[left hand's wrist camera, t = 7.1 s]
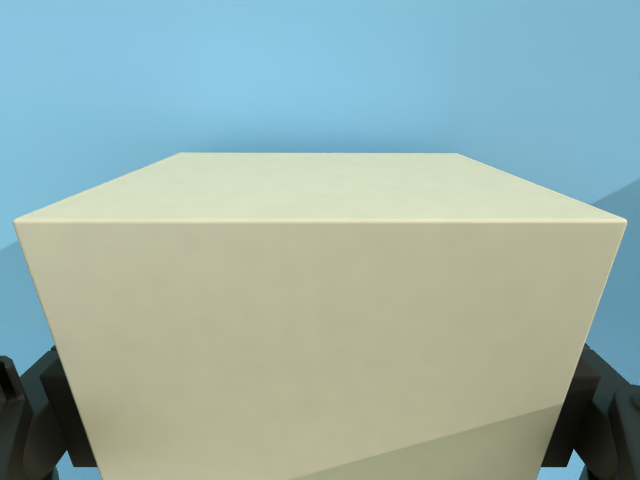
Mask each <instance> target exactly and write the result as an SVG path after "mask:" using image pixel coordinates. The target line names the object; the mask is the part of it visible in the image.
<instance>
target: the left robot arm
mask: <svg viewBox="0 0 640 480" xmlns="http://www.w3.org/2000/svg"><path fill="white" fill-rule="evenodd" d="M573 449H574V450H575V451H576V452H577V454H578V455H579V456H580V458H581V459H582V461H583V462H584V463H585V466H584V468H583V471H582V473H581V475H580V478H579V480H640V386H637V385H631V384H629V383H628V382H627V381H626V380H625V379H624V378H623V377H622V376H621V375H620V374H619V373H617V372H616V371H615V370H614V369H613V368H612V367H611V366H610V365H609V364H608V363H606V362H605V361H604V360H603V359H602V358H601V357H600V356H599V355H598V354H597V353H596V352H594V351H593V350H590V347H589V346H588V345H587V344H586V343H585V344H584V347H583V349H582V352H581V355H580V358H579V361H578V363H577V366H576V369H575V372H574V375H573V377H572V380H571V383H570V386H569V389H568V391H567V394H566V397H565V400H564V403H563V406H562V408H561V411H560V414H559V417H558V420H557V422H556V425H555V428H554V431H553V434H552V436H551V439H550V442H549V445H548V448H547V450H546V453H545V456H544V459H543V462H542V464H541V467H567V465H568V462H569V459H570V457H571V454H572V452H573ZM66 450H67V451H68V453H69V456H70V459H71V461H72V464H73V466H74V467H98V466H97V463H96V461H95V458H94V455H93V452H92V449H91V446H90V443H89V441H88V438H87V435H86V432H85V429H84V426H83V423H82V421H81V418H80V415H79V412H78V409H77V406H76V403H75V400H74V398H73V395H72V392H71V389H70V386H69V383H68V380H67V378H66V375H65V372H64V369H63V366H62V363H61V360H60V358H59V355H58V352H57V349H56V346H55V345H54V346H53V347H52V348H51V351H48V352H47V353H45V354H44V355H43V356H42V357H41V358H40V359H39V360H38V361H37V362H36V363H35V364H33V365H32V366H31V367H30V368H29V369H28V370H27V371H26V372H25V373H24V374H23V375H22V376H20V377H19V375H18V373H17V370H16V368H15V365H14V363H13V361H12V359H10V358H8V357H7V356H0V480H59V475H58V471H57V468H56V464H57V463H58V461H59V460H60V459H61V457H62V456H63V455H64V453H65V452H66Z"/></svg>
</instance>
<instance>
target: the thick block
mask: <svg viewBox="0 0 640 480" xmlns="http://www.w3.org/2000/svg"><path fill="white" fill-rule="evenodd" d="M13 226H14V229H15V232H16V234H17V237H18V240H19V243H20V246H21V249H22V252H23V254H24V257H25V260H26V263H27V266H28V269H29V272H30V274H31V277H32V280H33V283H34V286H35V289H36V292H37V295H38V297H39V300H40V303H41V306H42V309H43V312H44V315H45V317H46V320H47V323H48V326H49V329H50V332H51V335H52V337H53V340H54V343H55V346H56V349H57V352H58V355H59V358H60V360H61V363H62V366H63V369H64V372H65V375H66V378H67V380H68V383H69V386H70V389H71V392H72V395H73V398H74V400H75V403H76V406H77V409H78V412H79V415H80V418H81V421H82V423H83V426H84V429H85V432H86V435H87V438H88V441H89V443H90V446H91V449H92V452H93V455H94V458H95V461H96V463H97V466H98V469H99V472H100V475H101V478H102V480H536V479H537V476H538V473H539V470H540V467H541V464H542V462H543V459H544V456H545V453H546V450H547V448H548V445H549V442H550V439H551V436H552V434H553V431H554V428H555V425H556V422H557V420H558V417H559V414H560V411H561V408H562V406H563V403H564V400H565V397H566V394H567V391H568V389H569V386H570V383H571V380H572V377H573V375H574V372H575V369H576V366H577V363H578V361H579V358H580V355H581V352H582V349H583V347H584V344H585V341H586V338H587V335H588V333H589V330H590V327H591V324H592V321H593V318H594V316H595V313H596V310H597V307H598V304H599V302H600V299H601V296H602V293H603V290H604V288H605V285H606V282H607V279H608V276H609V274H610V271H611V268H612V265H613V262H614V260H615V257H616V254H617V251H618V248H619V245H620V243H621V240H622V237H623V234H624V231H625V229H626V226H627V220H626V219H624V218H622V217H619V216H616V215H614V214H611V213H609V212H606V211H604V210H601V209H599V208H596V207H593V206H591V205H588V204H586V203H583V202H581V201H578V200H576V199H573V198H570V197H568V196H565V195H563V194H560V193H558V192H555V191H553V190H550V189H547V188H545V187H542V186H540V185H537V184H535V183H532V182H529V181H527V180H524V179H522V178H519V177H517V176H514V175H512V174H509V173H506V172H504V171H501V170H499V169H496V168H494V167H491V166H489V165H486V164H483V163H481V162H478V161H476V160H473V159H471V158H468V157H466V156H463V155H460V154H458V153H178V154H176V155H173V156H171V157H168V158H166V159H163V160H161V161H158V162H156V163H153V164H151V165H148V166H146V167H143V168H141V169H138V170H136V171H133V172H131V173H128V174H126V175H123V176H121V177H118V178H116V179H113V180H111V181H108V182H106V183H103V184H101V185H98V186H96V187H93V188H91V189H88V190H86V191H83V192H81V193H78V194H76V195H73V196H71V197H68V198H66V199H63V200H61V201H58V202H56V203H53V204H51V205H48V206H46V207H43V208H41V209H38V210H36V211H33V212H31V213H29V214H26V215H24V216H21V217H19V218H16V219H14V220H13Z"/></svg>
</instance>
